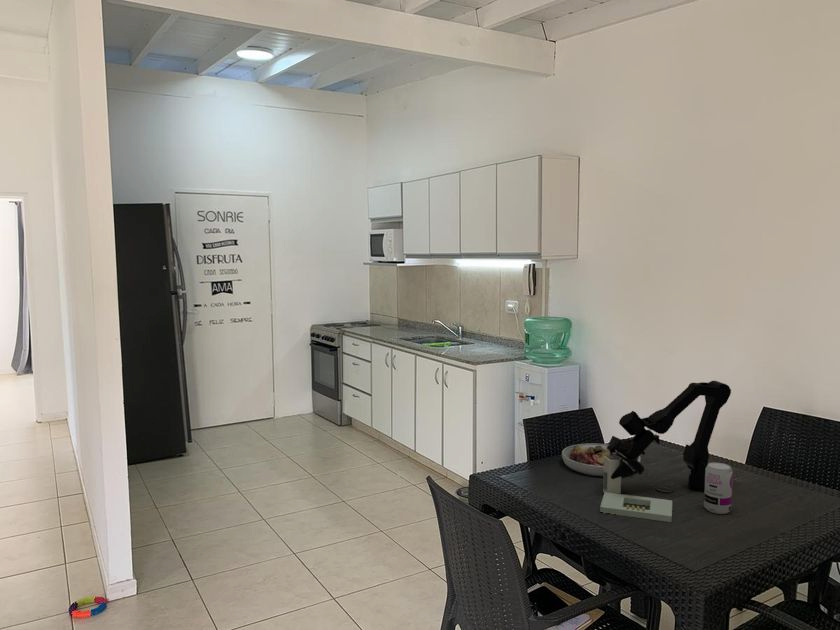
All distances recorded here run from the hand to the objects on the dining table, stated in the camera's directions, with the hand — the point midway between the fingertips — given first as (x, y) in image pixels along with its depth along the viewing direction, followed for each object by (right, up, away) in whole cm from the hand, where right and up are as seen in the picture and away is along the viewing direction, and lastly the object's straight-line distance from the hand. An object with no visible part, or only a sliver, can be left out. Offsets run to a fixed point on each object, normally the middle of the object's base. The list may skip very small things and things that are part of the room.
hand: (608, 476), depth 238 cm
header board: (+6, -8, -13) cm, 16 cm away
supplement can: (+32, -8, -13) cm, 36 cm away
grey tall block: (+1, -7, +1) cm, 7 cm away
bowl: (+5, -4, +31) cm, 32 cm away
